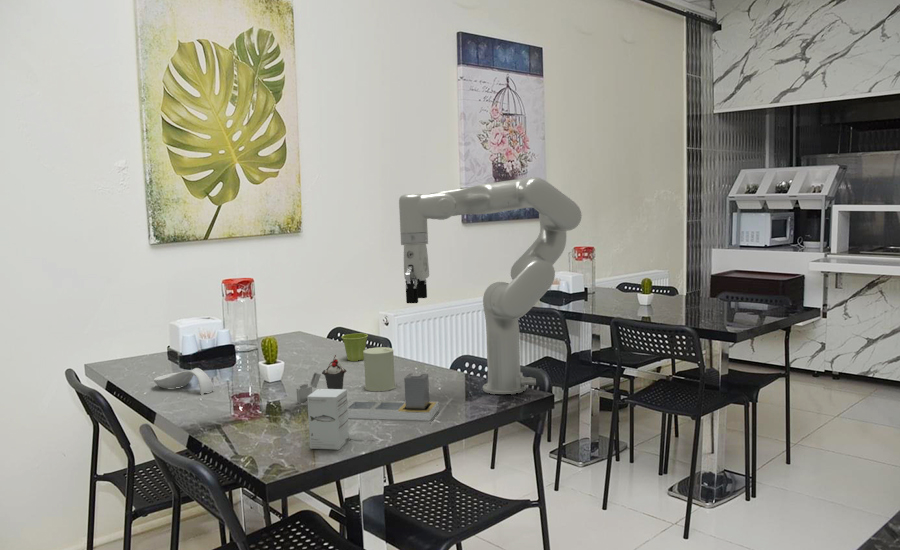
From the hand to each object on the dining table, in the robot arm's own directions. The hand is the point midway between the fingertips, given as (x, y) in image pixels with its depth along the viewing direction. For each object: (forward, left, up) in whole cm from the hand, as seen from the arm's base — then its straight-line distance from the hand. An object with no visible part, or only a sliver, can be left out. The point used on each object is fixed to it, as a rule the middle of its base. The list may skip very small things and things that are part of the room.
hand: (417, 300), depth 203 cm
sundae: (+22, +9, -28) cm, 37 cm away
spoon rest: (+78, -6, -29) cm, 84 cm away
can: (+16, -12, -28) cm, 35 cm away
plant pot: (+37, -49, -28) cm, 68 cm away
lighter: (+32, +4, -28) cm, 43 cm away
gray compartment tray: (+4, +17, -28) cm, 33 cm away
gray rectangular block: (-4, +17, -27) cm, 32 cm away
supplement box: (+12, +39, -29) cm, 50 cm away
